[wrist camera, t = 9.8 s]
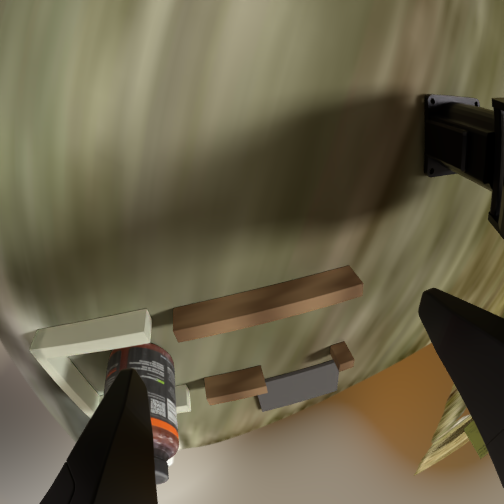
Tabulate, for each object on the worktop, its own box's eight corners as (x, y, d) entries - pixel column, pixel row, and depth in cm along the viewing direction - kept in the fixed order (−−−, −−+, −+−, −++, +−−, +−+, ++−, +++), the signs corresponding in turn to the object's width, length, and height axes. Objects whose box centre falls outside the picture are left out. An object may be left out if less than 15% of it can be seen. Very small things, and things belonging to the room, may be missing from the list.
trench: (349, 265, 24) (363, 283, 22) (343, 348, 29) (353, 366, 27) (173, 308, 22) (173, 331, 20) (207, 384, 28) (210, 405, 26)
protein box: (462, 429, 76) (480, 459, 63) (486, 405, 69) (507, 437, 56) (478, 420, 79) (495, 448, 65) (501, 396, 71) (520, 425, 58)
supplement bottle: (112, 376, 25) (103, 484, 16) (107, 333, 23) (87, 458, 13) (173, 382, 27) (180, 490, 17) (177, 340, 24) (184, 467, 15)
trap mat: (338, 358, 30) (339, 360, 29) (335, 387, 33) (336, 390, 33) (254, 381, 29) (254, 385, 29) (261, 409, 32) (262, 411, 32)
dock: (146, 308, 22) (144, 331, 20) (189, 390, 28) (191, 411, 26) (37, 329, 21) (29, 350, 19) (95, 402, 27) (93, 421, 25)
